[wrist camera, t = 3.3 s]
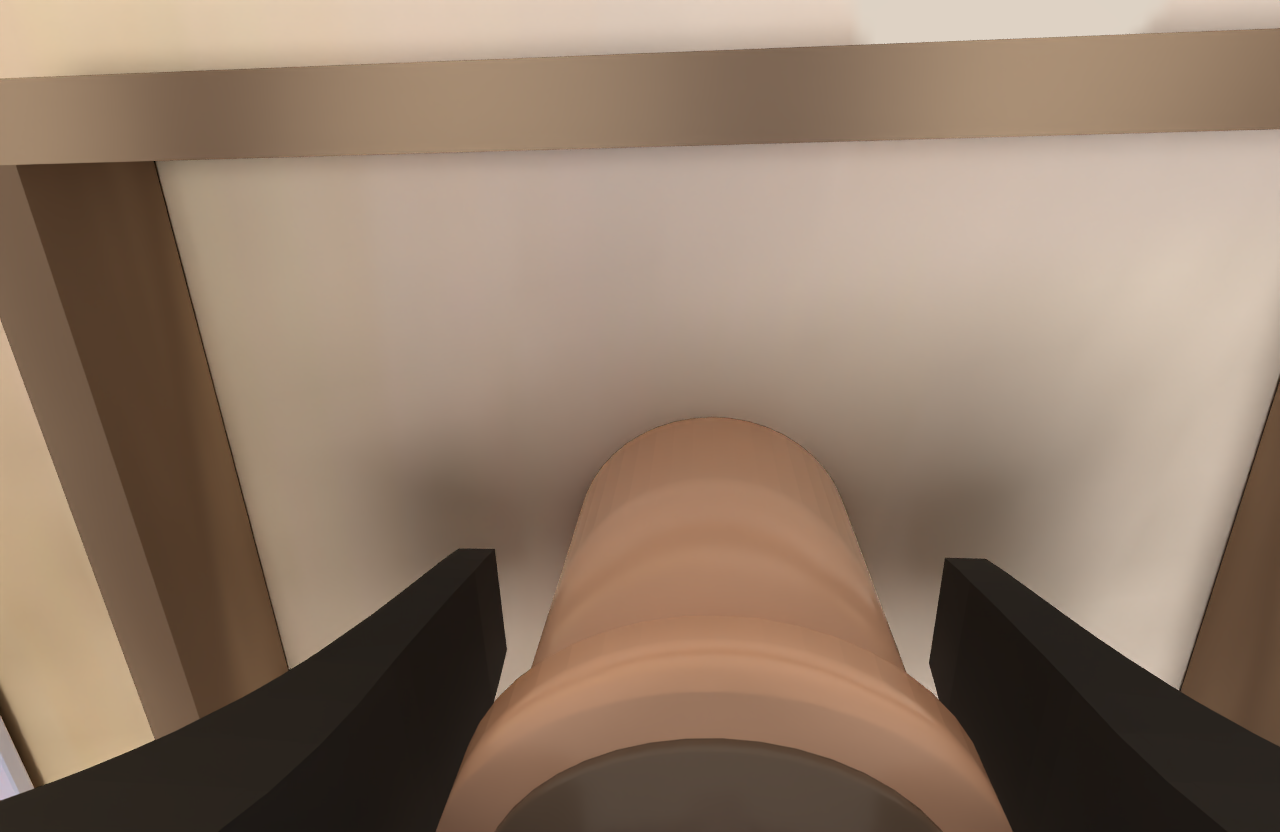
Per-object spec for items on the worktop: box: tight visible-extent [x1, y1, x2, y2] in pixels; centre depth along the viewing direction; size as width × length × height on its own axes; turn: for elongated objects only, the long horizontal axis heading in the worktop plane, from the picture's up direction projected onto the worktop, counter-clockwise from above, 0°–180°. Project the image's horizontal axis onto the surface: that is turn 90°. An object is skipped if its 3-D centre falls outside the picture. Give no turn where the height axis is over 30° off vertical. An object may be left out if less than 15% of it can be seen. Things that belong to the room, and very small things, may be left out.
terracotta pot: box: [436, 417, 1013, 832], centre depth 10 cm, size 6×6×7 cm
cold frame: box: [0, 28, 1280, 747], centre depth 12 cm, size 20×16×2 cm
